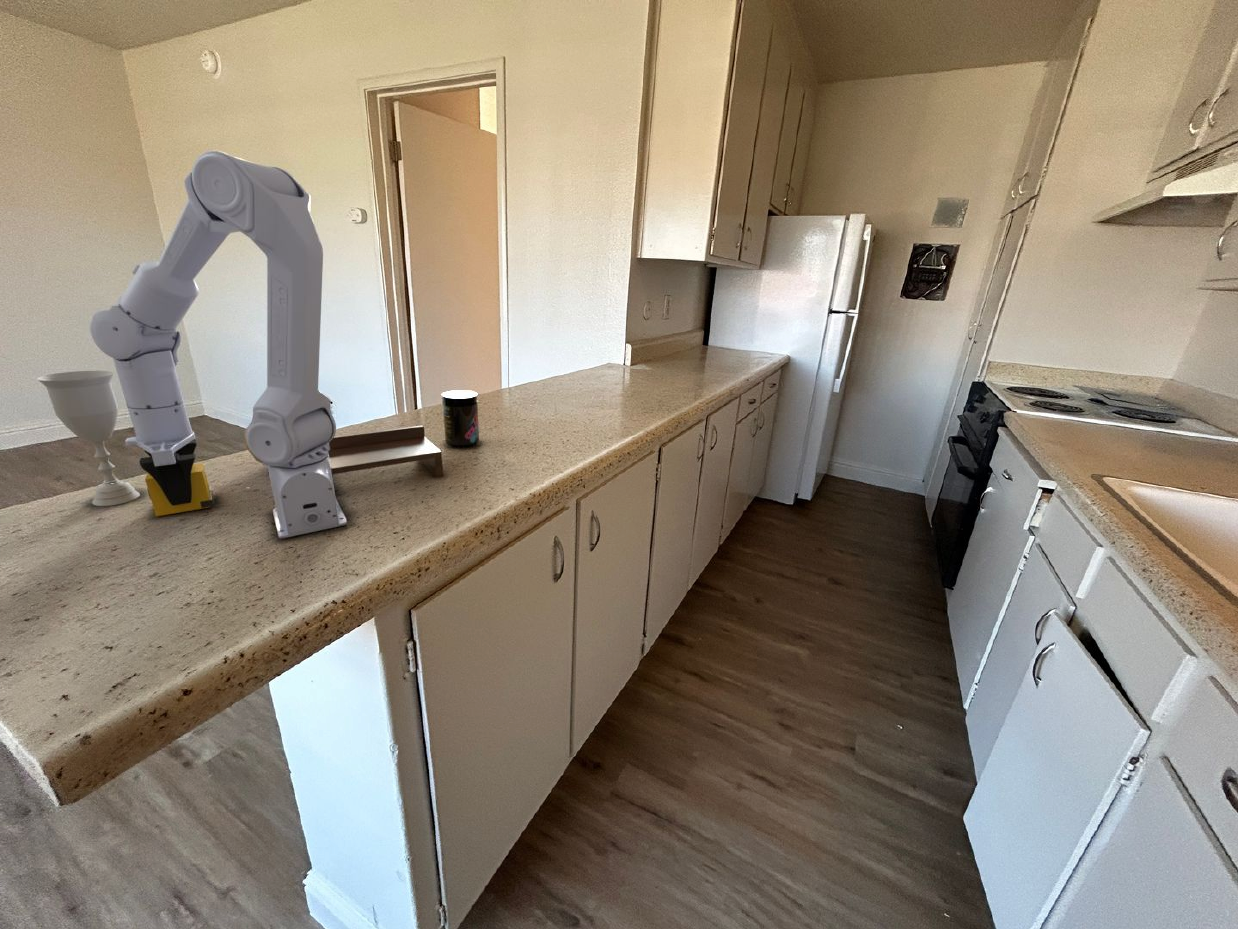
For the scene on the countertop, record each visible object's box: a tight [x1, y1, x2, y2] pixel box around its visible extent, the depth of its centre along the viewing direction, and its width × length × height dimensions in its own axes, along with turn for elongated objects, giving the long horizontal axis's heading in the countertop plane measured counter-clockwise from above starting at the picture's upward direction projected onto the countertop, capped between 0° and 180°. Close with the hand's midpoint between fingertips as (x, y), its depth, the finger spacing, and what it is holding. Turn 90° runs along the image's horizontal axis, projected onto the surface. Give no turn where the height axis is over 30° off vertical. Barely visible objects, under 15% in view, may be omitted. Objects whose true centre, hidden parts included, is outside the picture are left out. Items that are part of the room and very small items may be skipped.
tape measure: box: [144, 462, 215, 517], centre depth 72 cm, size 4×6×6 cm, turn 126°
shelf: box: [328, 425, 444, 478], centre depth 86 cm, size 10×18×6 cm, turn 126°
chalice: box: [36, 370, 141, 507], centre depth 71 cm, size 7×7×18 cm
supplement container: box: [441, 390, 480, 449], centre depth 103 cm, size 7×7×10 cm
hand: (182, 497), depth 72 cm, fingers closed on tape measure, 4 cm apart
